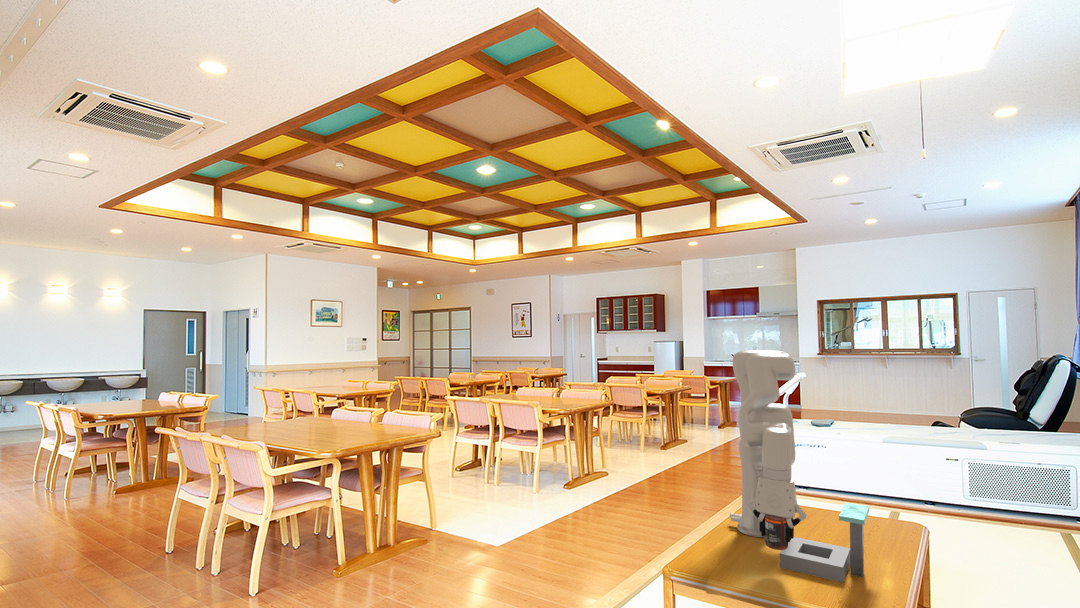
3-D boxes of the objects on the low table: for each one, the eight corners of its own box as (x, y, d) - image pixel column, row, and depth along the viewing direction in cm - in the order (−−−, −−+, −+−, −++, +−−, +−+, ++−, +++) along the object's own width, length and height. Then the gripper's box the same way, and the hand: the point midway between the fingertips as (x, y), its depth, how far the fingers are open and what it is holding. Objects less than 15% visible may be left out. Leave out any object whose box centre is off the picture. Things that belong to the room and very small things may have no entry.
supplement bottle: (787, 543, 160) (787, 503, 160) (789, 552, 155) (789, 511, 155) (764, 540, 162) (764, 501, 162) (765, 549, 157) (765, 508, 157)
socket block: (779, 567, 161) (779, 553, 162) (791, 549, 175) (791, 536, 175) (843, 582, 152) (843, 567, 152) (850, 562, 166) (850, 548, 166)
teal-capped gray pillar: (839, 580, 154) (838, 515, 154) (846, 562, 165) (845, 502, 166) (865, 586, 150) (864, 520, 151) (869, 567, 162) (869, 506, 162)
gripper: (741, 471, 160) (740, 534, 160) (808, 482, 150) (807, 550, 151) (748, 464, 166) (748, 526, 167) (812, 474, 156) (812, 540, 157)
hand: (776, 536), depth 159 cm, fingers closed on supplement bottle, 6 cm apart
